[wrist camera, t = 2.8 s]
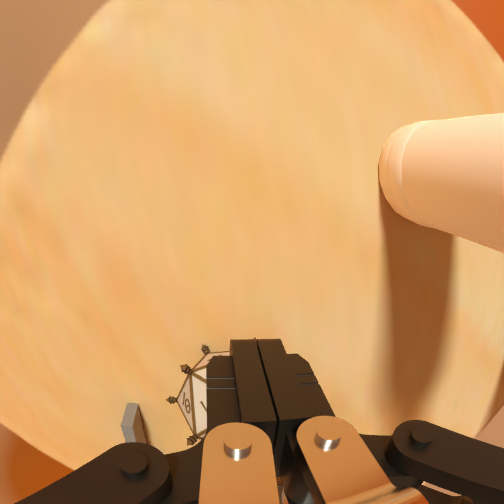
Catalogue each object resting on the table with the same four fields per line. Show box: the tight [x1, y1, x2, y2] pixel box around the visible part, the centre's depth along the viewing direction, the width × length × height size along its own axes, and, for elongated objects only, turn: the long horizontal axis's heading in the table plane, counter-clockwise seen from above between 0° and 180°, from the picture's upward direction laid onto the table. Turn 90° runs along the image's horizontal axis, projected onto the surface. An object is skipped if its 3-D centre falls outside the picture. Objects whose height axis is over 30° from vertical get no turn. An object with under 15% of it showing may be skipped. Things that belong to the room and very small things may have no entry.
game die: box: [166, 337, 256, 445], centre depth 20 cm, size 9×8×10 cm
